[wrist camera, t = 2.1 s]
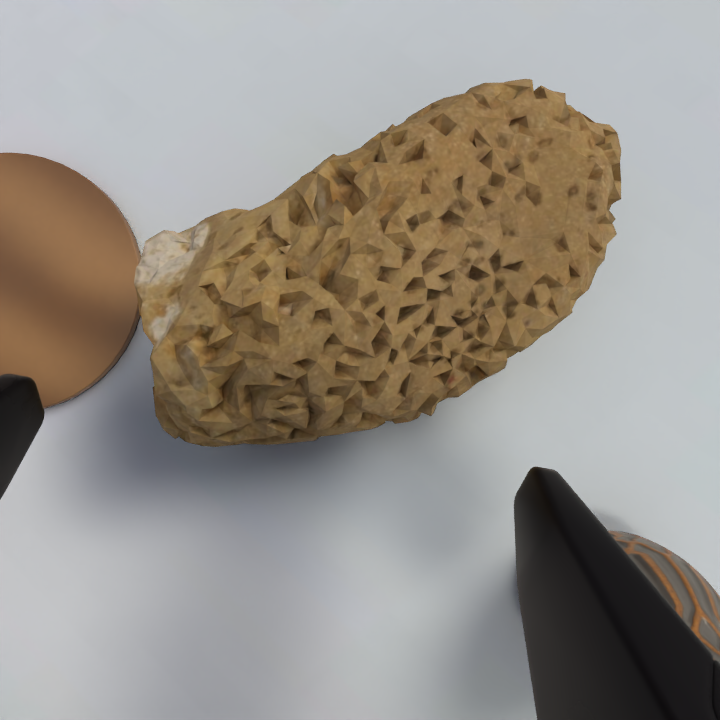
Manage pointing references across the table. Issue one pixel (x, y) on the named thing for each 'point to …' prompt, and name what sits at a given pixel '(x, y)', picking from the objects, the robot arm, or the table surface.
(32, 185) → the coaster
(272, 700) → the table surface
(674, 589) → the vase
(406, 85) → the table surface
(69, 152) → the table surface
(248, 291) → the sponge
